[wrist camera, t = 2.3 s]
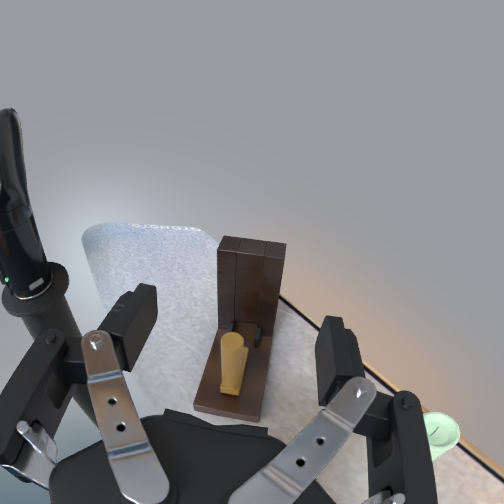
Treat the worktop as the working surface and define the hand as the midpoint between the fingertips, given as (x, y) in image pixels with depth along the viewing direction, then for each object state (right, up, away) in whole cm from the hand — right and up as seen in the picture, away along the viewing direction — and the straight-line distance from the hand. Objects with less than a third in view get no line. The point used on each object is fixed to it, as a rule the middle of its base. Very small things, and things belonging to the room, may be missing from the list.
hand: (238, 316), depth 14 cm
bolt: (-1, -10, +18) cm, 21 cm away
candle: (+17, -19, +10) cm, 28 cm away
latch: (-1, -11, +21) cm, 23 cm away
